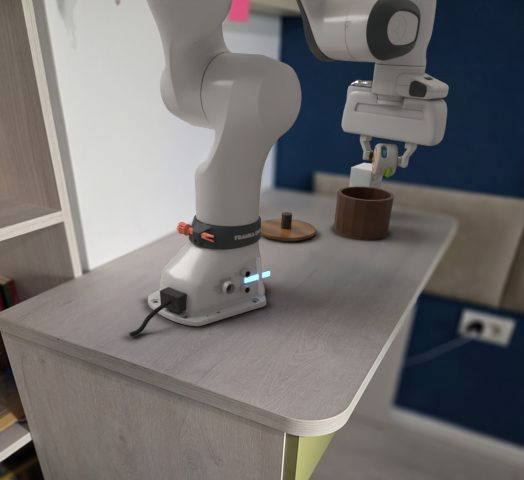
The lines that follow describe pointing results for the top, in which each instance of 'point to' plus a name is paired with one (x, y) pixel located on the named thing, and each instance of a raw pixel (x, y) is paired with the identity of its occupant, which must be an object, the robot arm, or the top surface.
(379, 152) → the roller toy
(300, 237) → the lid
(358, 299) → the top surface
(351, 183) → the small box
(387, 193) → the round wooden container
